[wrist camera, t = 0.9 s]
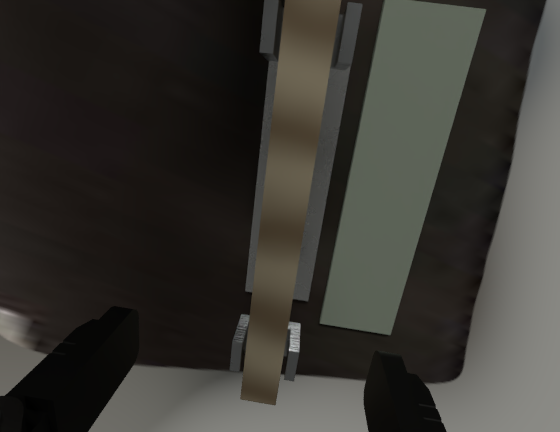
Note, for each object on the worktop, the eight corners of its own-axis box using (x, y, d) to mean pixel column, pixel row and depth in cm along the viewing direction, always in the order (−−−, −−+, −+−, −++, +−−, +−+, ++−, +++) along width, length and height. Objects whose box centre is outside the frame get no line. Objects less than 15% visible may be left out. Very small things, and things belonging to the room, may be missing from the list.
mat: (383, 0, 30) (385, -3, 29) (480, 12, 30) (486, 9, 29) (319, 318, 42) (319, 323, 41) (388, 329, 42) (390, 335, 41)
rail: (295, -40, 19) (292, -65, 17) (344, -34, 19) (350, -58, 16) (247, 371, 30) (240, 399, 27) (278, 377, 30) (275, 405, 27)
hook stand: (274, 24, 32) (244, -43, 17) (355, 34, 31) (393, -26, 17) (246, 287, 42) (213, 381, 27) (308, 296, 41) (306, 397, 27)
